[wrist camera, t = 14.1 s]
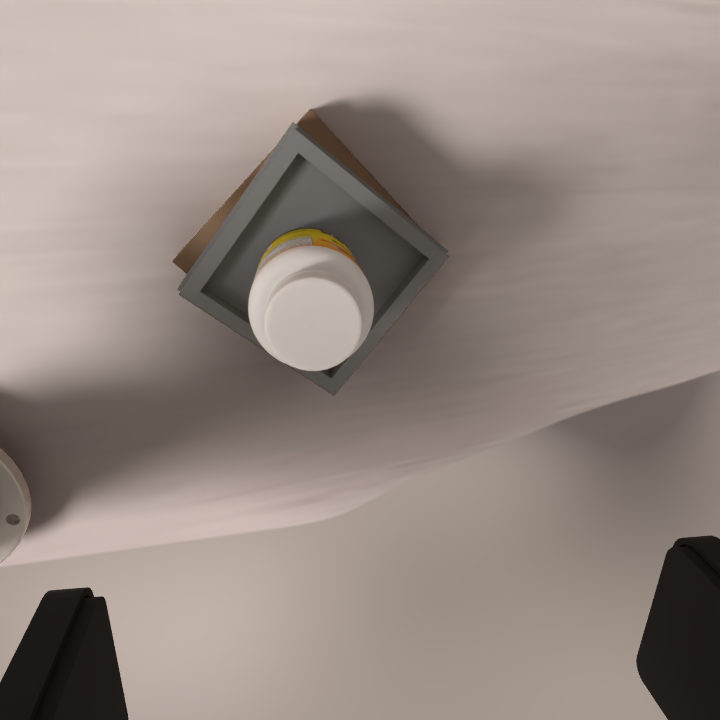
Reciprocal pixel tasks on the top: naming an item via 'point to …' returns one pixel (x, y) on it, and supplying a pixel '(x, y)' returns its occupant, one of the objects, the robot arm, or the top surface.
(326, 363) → the supplement bottle
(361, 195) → the tower top
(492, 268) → the top surface
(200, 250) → the tower base
